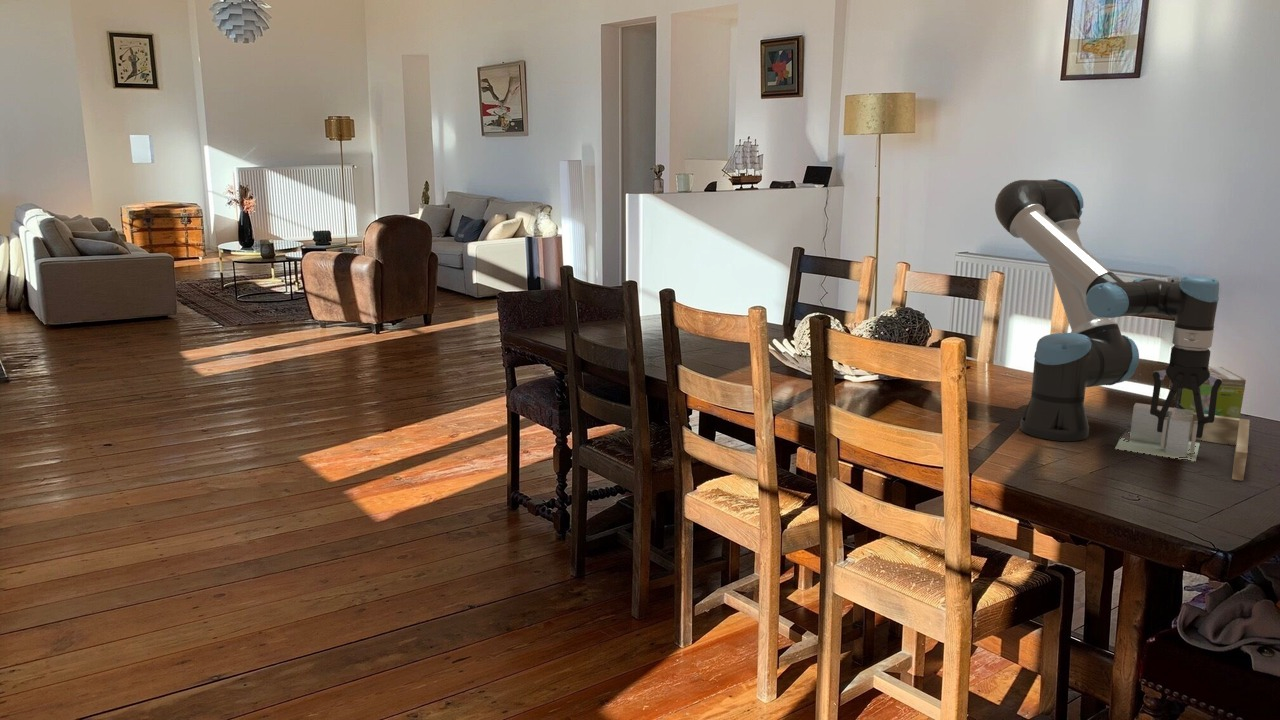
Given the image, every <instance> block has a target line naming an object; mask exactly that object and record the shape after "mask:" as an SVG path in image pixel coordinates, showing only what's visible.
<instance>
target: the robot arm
mask: <svg viewBox="0 0 1280 720" xmlns="http://www.w3.org/2000/svg"><path fill="white" fill-rule="evenodd" d="M1084 206H1085V205H1084V198H1083V195H1082V193H1081V191H1080V189H1078V187H1077V186H1076V185H1075V184H1073V183H1072V182H1069V181H1067V180H1063V179H1062V180H1060V179H1057V178H1056V179H1054V178H1052V179H1019V180H1014V181H1011V182H1010V183H1007V185H1005V186H1004V187H1003V188H1002V189H1001V190H1000V191H999V193H998V194H997V197H996V198H995V203H994V211H995V215H996V218H997V220H998V222H999V224H1000V225H1001V226H1002V227H1003V228H1004V230H1006V232H1008V233H1009V234H1010V235H1011V236H1012V237H1013V238H1017V239H1022V240H1023V241H1024V242H1026V243H1027V245H1029V246H1030V247H1031V248H1032V249H1033V250H1035V251H1036V253H1038V254H1039V255H1040V256H1041V257H1042V258H1043V259H1044V260H1045V261H1046V262H1047V263H1048V266H1049V269H1050V272H1051V276H1052V277H1053V281H1054V284H1055V286H1056V289H1057V292H1058V295H1059V298H1060V301H1061V303H1062V306H1063V310H1064V312H1065V315H1066V318H1067V320H1068V324H1069V326H1070V330H1071V331H1070V332H1065V333H1064V332H1063V333H1061V332H1057V333H1050V334H1047V335H1043V336H1042V337H1041V338H1039V339H1038V341H1037V343H1036V347H1035V348H1036V349H1035V352H1034V357H1033V358H1034V363H1033V371H1032V384H1031V393H1030V394H1031V396H1030V398H1029V399H1030V400H1029V401H1028V404H1027V406H1026V408H1025V410H1024V412H1023V415H1022V416H1021V419H1020V426H1019V429H1020V431H1022V432H1023V433H1024V434H1027V435H1029V436H1032V437H1035V438H1040V439H1044V440H1051V441H1060V442H1061V441H1062V442H1076V441H1077V442H1078V441H1082V440H1086V439H1088V438H1089V434H1090V425H1089V422H1088V418H1087V417H1088V416H1087V412H1086V407H1085V396H1086V389H1087V388H1092V387H1098V386H1099V387H1100V386H1113V385H1115V384H1119V383H1124V382H1126V381H1127V380H1129V379H1131V378H1132V377H1133V375H1134V374H1135V372H1136V370H1137V368H1138V366H1139V362H1140V352H1139V351H1140V350H1139V349H1138V345H1137V344H1136V343H1135V341H1134V340H1133V339H1132V338H1129V337H1128V336H1126V335H1125V334H1122V333H1121V330H1120V327H1119V325H1118V323H1117V322H1115V321H1112V320H1110V319H1113V318H1119V317H1128V316H1129V317H1130V316H1142V315H1162V316H1166V317H1172V318H1174V327H1173V333H1172V341H1171V342H1172V344H1173V345H1174V346H1172V347H1171V351H1170V356H1169V363H1168V366H1167V367H1166V369H1161V370H1158V369H1155V370H1154V371H1153V373H1152V377H1153V383H1154V384H1153V390H1152V395H1151V404H1150V405H1151V409H1150V414H1151V415H1155V416H1157V417H1158V425H1157V432H1162V438H1161V445H1160V448H1164V447H1165V442H1166V434H1167V427H1168V419H1169V418H1168V417H1165V415H1166V413H1167V411H1168V409H1169V407H1171V405H1172V402H1173V399H1174V398H1175V397H1176V393H1177V389H1178V388H1180V389H1182V388H1186V389H1189V390H1192V391H1193V396H1194V402H1195V408H1196V414H1197V420H1198V422H1197V421H1194V426H1193V433H1192V439H1190V442H1191V447H1190V452H1192V453H1194V449H1195V442H1196V441H1197V440H1196V438H1201V437H1202V435H1203V428H1204V424H1206V423H1213V422H1214V418H1215V410H1216V402H1217V393H1218V389H1219V387H1220V385H1221V383H1222V378H1220V377H1218V378H1217V377H1215V376H1212V375H1210V372H1209V370H1208V367H1209V366H1210V359H1211V350H1210V348H1211V347H1212V345H1213V337H1214V332H1215V330H1214V328H1215V325H1214V324H1215V320H1216V314H1217V308H1218V303H1219V300H1220V298H1219V292H1220V291H1219V290H1220V281H1219V280H1218V279H1217V278H1215V277H1212V276H1204V275H1203V276H1202V275H1184V276H1182V277H1181V278H1180V281H1179V282H1174V281H1172V282H1171V281H1165V280H1160V279H1159V280H1158V279H1155V278H1141V277H1140V278H1135V279H1133V281H1124V280H1123V279H1121V278H1119V277H1118V275H1116V274H1114V272H1112V271H1111V270H1110V269H1109V268H1108V267H1107V266H1106V265H1104V264H1103V263H1102V262H1101V261H1099V259H1097V257H1095V256H1094V254H1091V253H1090V252H1089V251H1088V250H1087V249H1086V248H1085V247H1084V246H1083V244H1082V242H1081V239H1080V236H1079V234H1078V229H1079V228H1080V225H1081V224H1082V221H1081V216H1082V214H1083V209H1084ZM1165 376H1167V377H1168V378H1169V380H1170V382H1171V384H1172V386H1171V387H1170V390H1169V392H1168V395H1167V397H1166V399H1165V400H1164V404H1162V406H1163V407H1162V409H1161V411H1160V410H1158V409H1157V407H1158V406H1159V400H1160V394H1161V393H1160V392H1161V387H1162V381H1164V379H1165ZM1207 379H1208V380H1209V381H1210V383H1209V384H1210V386H1212V389H1211V396H1210V404H1209V413H1208V416H1206V417H1204V412H1203V406H1202V400H1201V394H1200V386H1201V385H1202V384H1203V383H1204V382H1205V381H1206V380H1207ZM1196 443H1197V442H1196Z"/></svg>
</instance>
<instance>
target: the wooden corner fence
mask: <svg viewBox="0 0 1280 720" xmlns="http://www.w3.org/2000/svg"><path fill="white" fill-rule="evenodd" d="M1206 416H1208V414H1204V417H1206ZM1194 421H1197V422H1198V420H1197V414H1196V413H1195V412H1194V413H1193V420H1192V427H1191V435H1190V440H1192V433H1193V426H1194ZM1250 421H1251V419H1245V418H1240V419H1239V418H1232V417H1224V416H1217V415H1215V418H1214V422H1213V423H1206V424H1204V428H1203V435H1202V437H1201V438H1196V441H1201V440H1202V442H1208V443H1209V442H1210V443H1215V444H1222V445H1228V444H1229V446H1235V445H1236V446H1235V448H1234V456H1233V457H1234V458H1233V464H1232V465H1233V467H1232V474H1231V480H1235V481H1241V482H1243V481H1244V477H1245V472H1246V463H1247V457H1248V452H1249V451H1248V449H1249V447H1248V446H1249V436H1250V435H1249V433H1250Z"/></svg>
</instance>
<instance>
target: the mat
mask: <svg viewBox="0 0 1280 720" xmlns="http://www.w3.org/2000/svg"><path fill="white" fill-rule="evenodd" d="M1120 438H1121V437H1120ZM1120 438H1119V439H1118V442H1117V444H1116V446H1115V448H1114V450H1117V449H1119V450H1120V451H1124V450H1127V451H1126V452H1130V451H1132V452H1131V453H1137V452H1138V453H1137V454H1143V453H1145V454H1144V455H1149V454H1151V456H1156V455H1157V457H1162V456H1163V458H1168V457H1170V459H1175V458H1178V459H1177V460H1181V459H1188V460H1191V461H1190V462H1194V461H1195V463H1196V461H1197V457H1198V454H1199V449H1200V442H1195V446H1196V447H1195V449H1194V452H1195V454H1191V455H1186V456H1187V457H1188V458H1179V457H1180V456H1173V455H1167V454H1165V453H1166V446H1167V445H1165V447H1164V448H1160V445H1161V444H1156V443H1149V442H1143V441H1136V440H1130V441H1129V442H1126V441H1128V440H1125V441H1123V440H1124V439H1125V438H1121V439H1120ZM1190 447H1191V441H1190V442H1189V447H1188V450H1189V449H1190ZM1119 450H1118V451H1119ZM1189 453H1192V452H1190V450H1189V451H1187V454H1189ZM1190 456H1192V457H1190ZM1190 458H1192V459H1190Z"/></svg>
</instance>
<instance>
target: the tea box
mask: <svg viewBox="0 0 1280 720" xmlns="http://www.w3.org/2000/svg"><path fill="white" fill-rule="evenodd" d="M1208 370H1209V372H1210V375H1212V376H1215V377H1217V378H1218V377H1220V378H1222V383H1221V385H1220V387H1219V389H1218V393H1217V402H1216V410H1215V415H1217V416H1224V417H1232V418H1239V419H1241V412H1242V406H1243V400H1244V394H1245V388H1246V383H1247V382H1246V381H1247V380H1246V378H1244V377H1242V376H1240V375H1238V374H1236V373H1234V372H1232V371H1230V370H1229V369H1227V368H1225V367H1223V366H1213V365H1211V366H1210V365H1209V367H1208ZM1209 383H1210V381H1209V380H1208V379H1207V380H1206V381H1205V382H1204V383H1203V384H1202V385H1201V386H1200V394H1201V400H1202V406H1203V412H1204V414H1208V413H1209V404H1210V396H1211V389H1212V386H1210V384H1209ZM1173 408H1178V409H1186V410H1193V411H1194V412H1195V413H1196V408H1195V402H1194V396H1193V391H1192V390H1189V389H1186V388H1182V389H1180V388H1178V389H1177V392H1176V394H1175V401H1174V407H1173Z"/></svg>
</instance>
